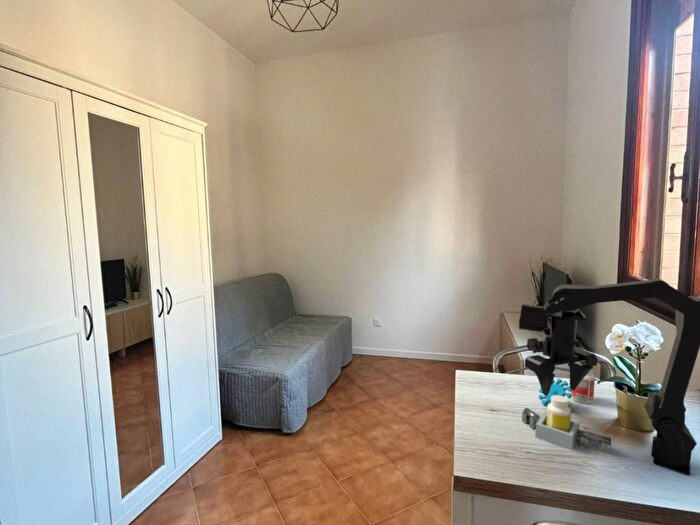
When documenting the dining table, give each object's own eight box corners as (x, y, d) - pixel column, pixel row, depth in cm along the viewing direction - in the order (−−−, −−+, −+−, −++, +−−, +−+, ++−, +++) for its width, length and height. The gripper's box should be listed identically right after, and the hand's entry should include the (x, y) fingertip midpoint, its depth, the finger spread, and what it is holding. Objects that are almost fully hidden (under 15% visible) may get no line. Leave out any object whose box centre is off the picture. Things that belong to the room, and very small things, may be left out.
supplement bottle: (574, 437, 98) (576, 401, 97) (557, 441, 96) (559, 404, 95) (557, 426, 103) (559, 392, 102) (541, 430, 101) (543, 395, 100)
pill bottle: (585, 395, 122) (587, 362, 121) (597, 404, 116) (600, 369, 115) (566, 395, 122) (568, 362, 121) (577, 404, 116) (579, 370, 115)
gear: (531, 392, 121) (554, 371, 120) (541, 403, 122) (564, 382, 121) (553, 414, 110) (579, 391, 109) (564, 425, 112) (590, 403, 111)
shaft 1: (545, 429, 103) (545, 417, 102) (534, 430, 102) (535, 418, 102) (530, 418, 108) (531, 407, 108) (521, 420, 108) (521, 408, 107)
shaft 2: (609, 447, 95) (610, 434, 94) (610, 454, 92) (611, 440, 91) (576, 439, 98) (577, 426, 98) (576, 445, 95) (577, 432, 95)
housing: (578, 434, 100) (579, 422, 100) (571, 449, 94) (572, 436, 93) (544, 423, 106) (544, 411, 105) (535, 437, 99) (535, 424, 99)
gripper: (563, 322, 107) (560, 375, 109) (510, 329, 101) (507, 384, 103) (601, 334, 97) (596, 392, 98) (544, 342, 91) (540, 403, 92)
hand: (559, 392), depth 98 cm, fingers open, 9 cm apart
